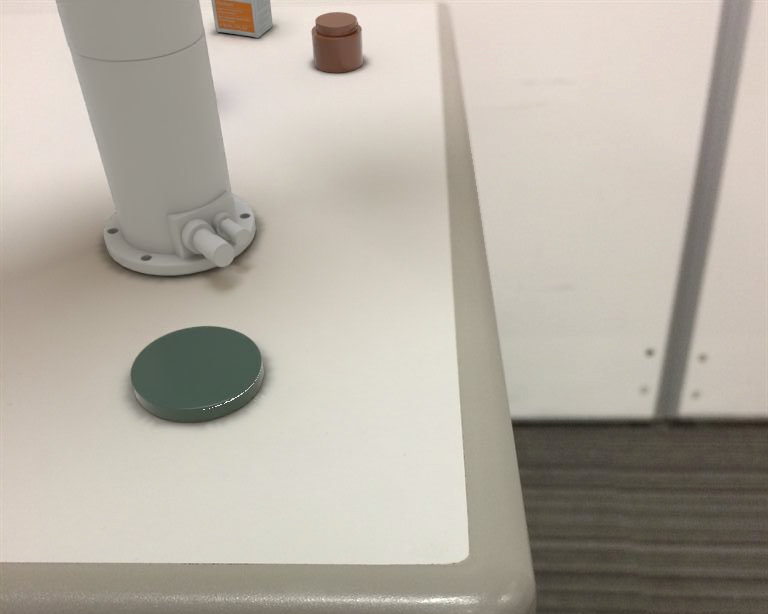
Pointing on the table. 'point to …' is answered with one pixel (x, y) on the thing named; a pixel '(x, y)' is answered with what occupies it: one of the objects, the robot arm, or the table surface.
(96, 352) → the table surface
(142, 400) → the coaster
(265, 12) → the cosmetic box
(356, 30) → the jar
